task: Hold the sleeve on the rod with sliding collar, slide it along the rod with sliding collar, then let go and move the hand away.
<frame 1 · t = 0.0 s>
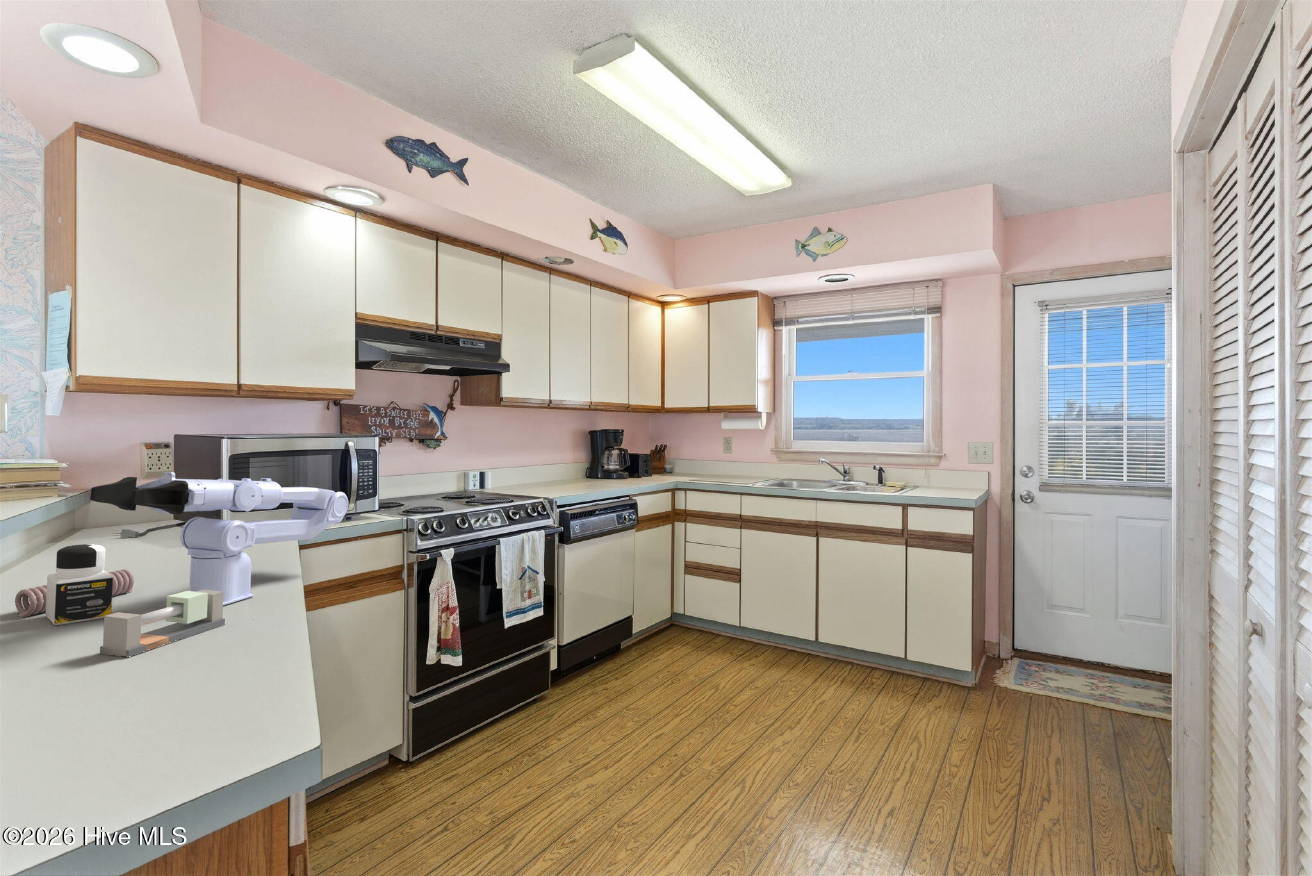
hand: (112, 495, 98), 22 cm above the counter, fingers open, 7 cm apart
sleeve: (187, 607, 100), point 4 cm above the counter, slide at 0.0 cm
coil: (78, 605, 112), on the counter
rod with sliding collar: (166, 638, 97), on the counter
medicine bottle: (78, 618, 105), on the counter
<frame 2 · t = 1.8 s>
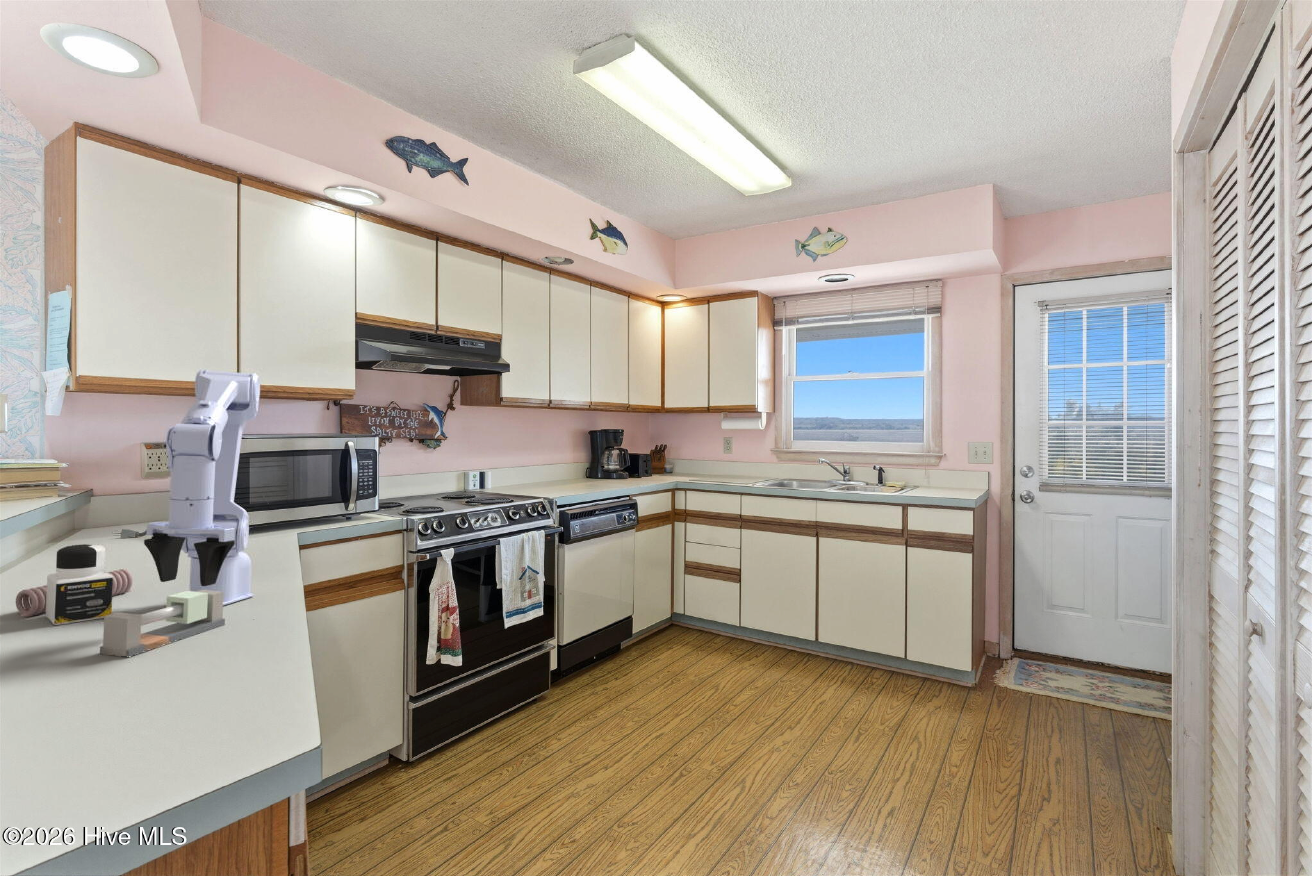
hand: (188, 582, 100), 8 cm above the counter, fingers open, 7 cm apart
nothing on the counter moved.
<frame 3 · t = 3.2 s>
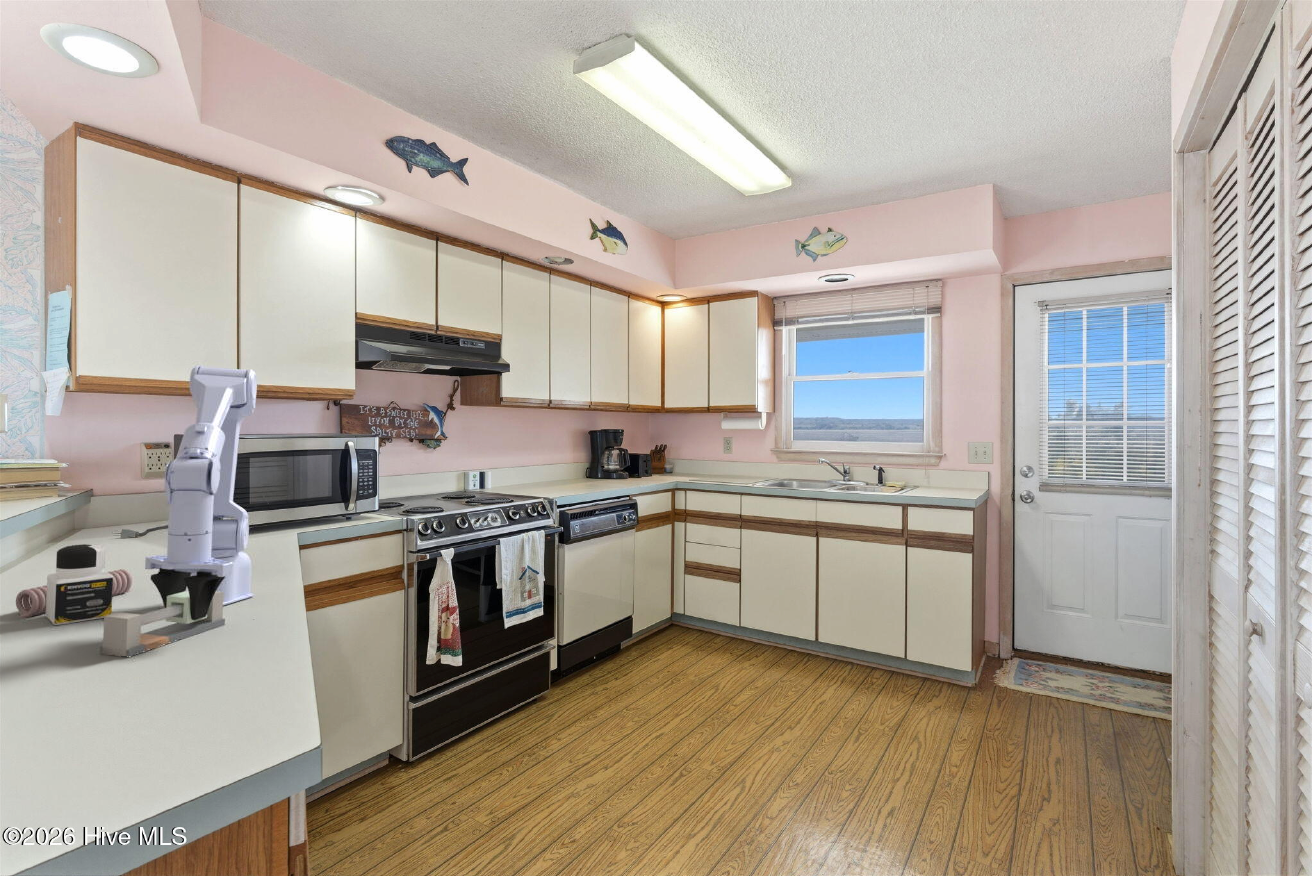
hand: (186, 616, 100), 2 cm above the counter, fingers closed on sleeve, 4 cm apart
sleeve: (187, 607, 100), point 4 cm above the counter, slide at 0.0 cm, touching gripper
everything else where it was.
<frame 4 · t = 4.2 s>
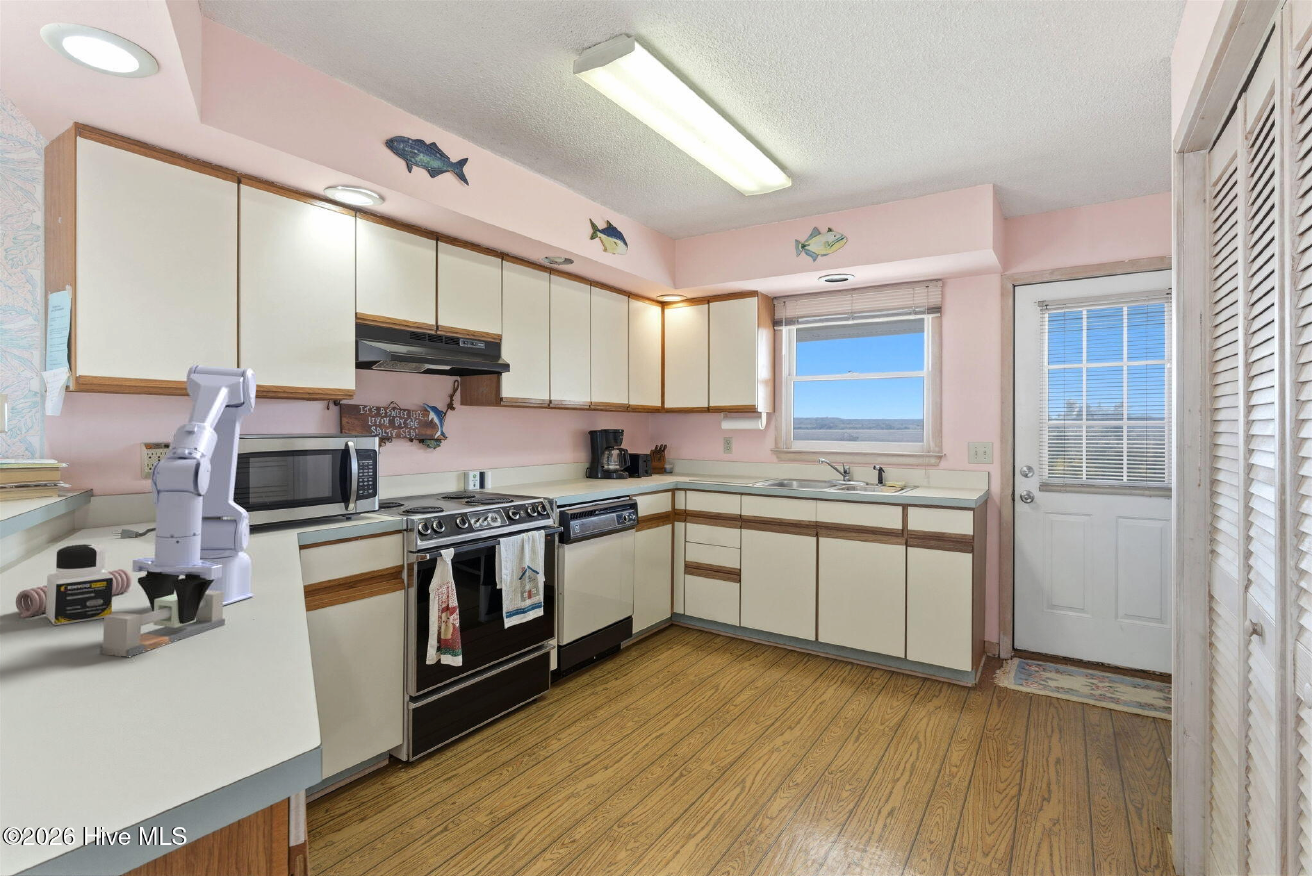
hand: (174, 620, 98), 2 cm above the counter, fingers closed on sleeve, 4 cm apart
sleeve: (175, 610, 98), point 4 cm above the counter, slide at 2.1 cm, touching gripper
everything else where it was.
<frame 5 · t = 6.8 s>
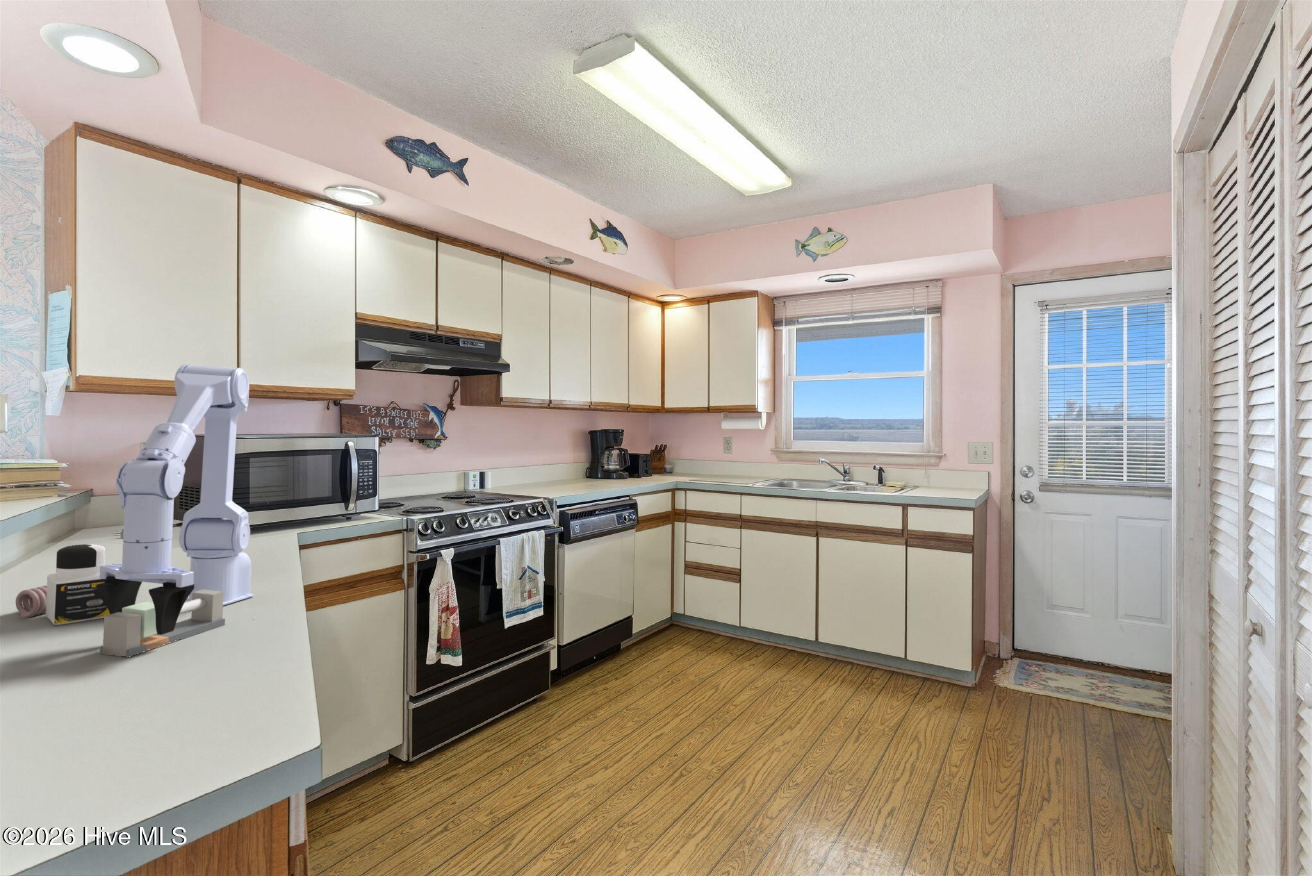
hand: (144, 630, 93), 2 cm above the counter, fingers open, 7 cm apart
sleeve: (144, 619, 93), point 4 cm above the counter, slide at 7.0 cm
everything else where it was.
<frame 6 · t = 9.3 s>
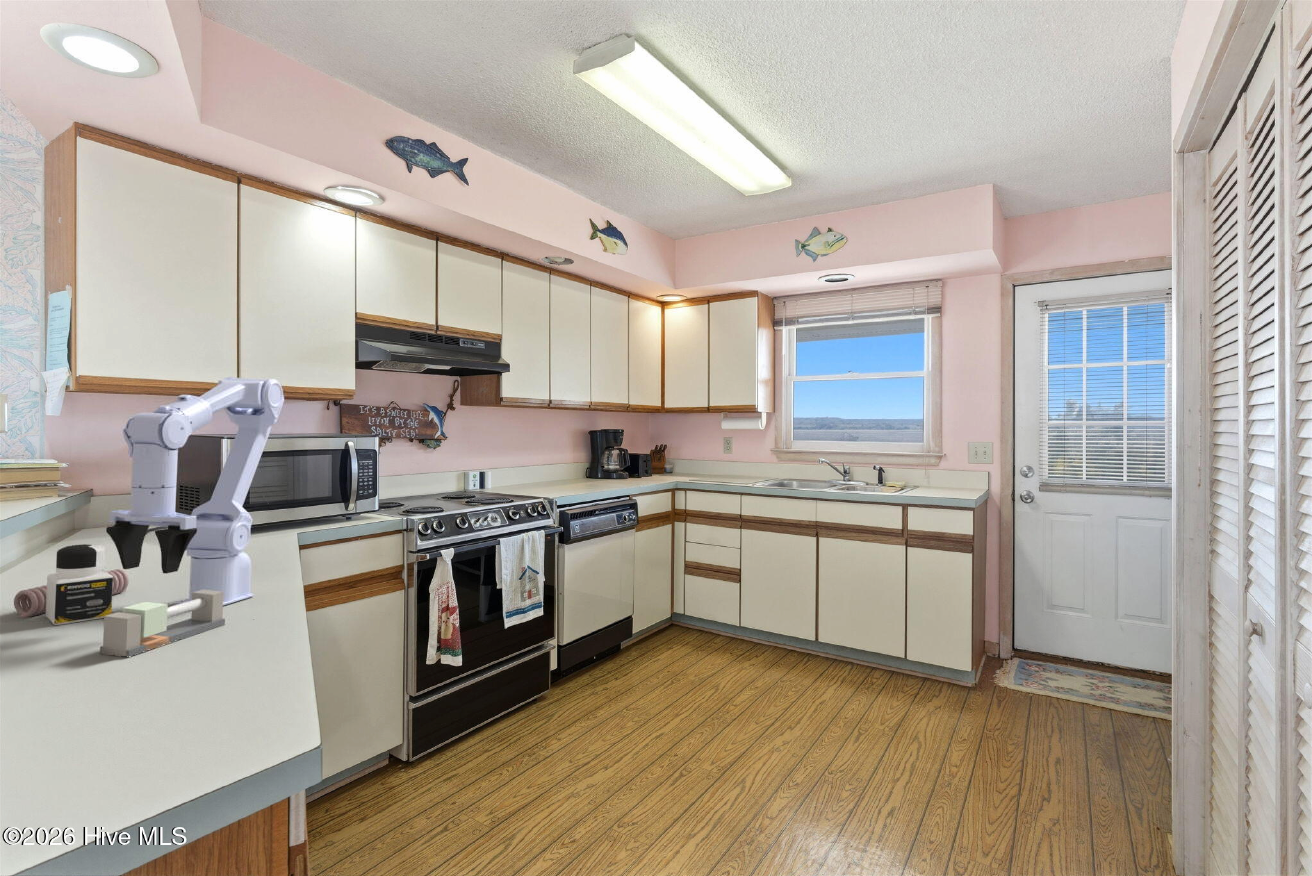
hand: (150, 570, 101), 9 cm above the counter, fingers open, 7 cm apart
nothing on the counter moved.
at the end: sleeve slide at 7.0 cm; the gripper is holding nothing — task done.
